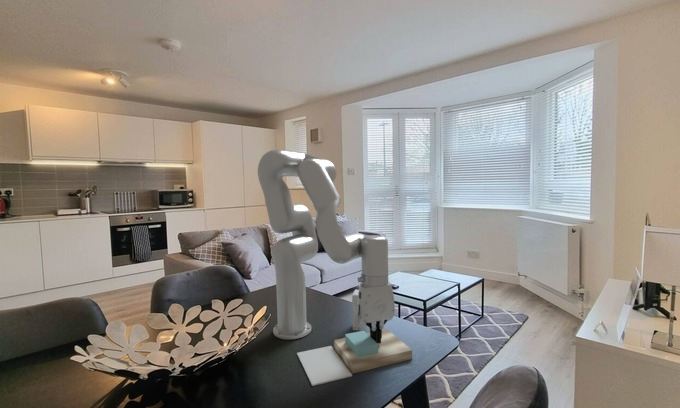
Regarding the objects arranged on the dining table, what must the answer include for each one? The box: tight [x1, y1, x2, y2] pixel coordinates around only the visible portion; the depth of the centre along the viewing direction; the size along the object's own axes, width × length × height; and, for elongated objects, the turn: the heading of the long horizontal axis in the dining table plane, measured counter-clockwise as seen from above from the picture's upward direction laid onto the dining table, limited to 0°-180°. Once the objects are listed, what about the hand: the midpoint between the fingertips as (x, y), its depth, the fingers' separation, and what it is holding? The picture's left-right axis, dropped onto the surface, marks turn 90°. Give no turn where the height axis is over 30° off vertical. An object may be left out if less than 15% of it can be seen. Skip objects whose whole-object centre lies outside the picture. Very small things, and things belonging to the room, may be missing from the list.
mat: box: [296, 345, 353, 387], centre depth 88 cm, size 16×10×1 cm, turn 21°
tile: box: [344, 330, 378, 358], centre depth 92 cm, size 9×6×2 cm, turn 21°
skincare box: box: [351, 289, 367, 332], centre depth 110 cm, size 6×4×12 cm
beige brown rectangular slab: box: [333, 329, 413, 375], centre depth 93 cm, size 14×18×2 cm
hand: (376, 341), depth 94 cm, fingers closed
